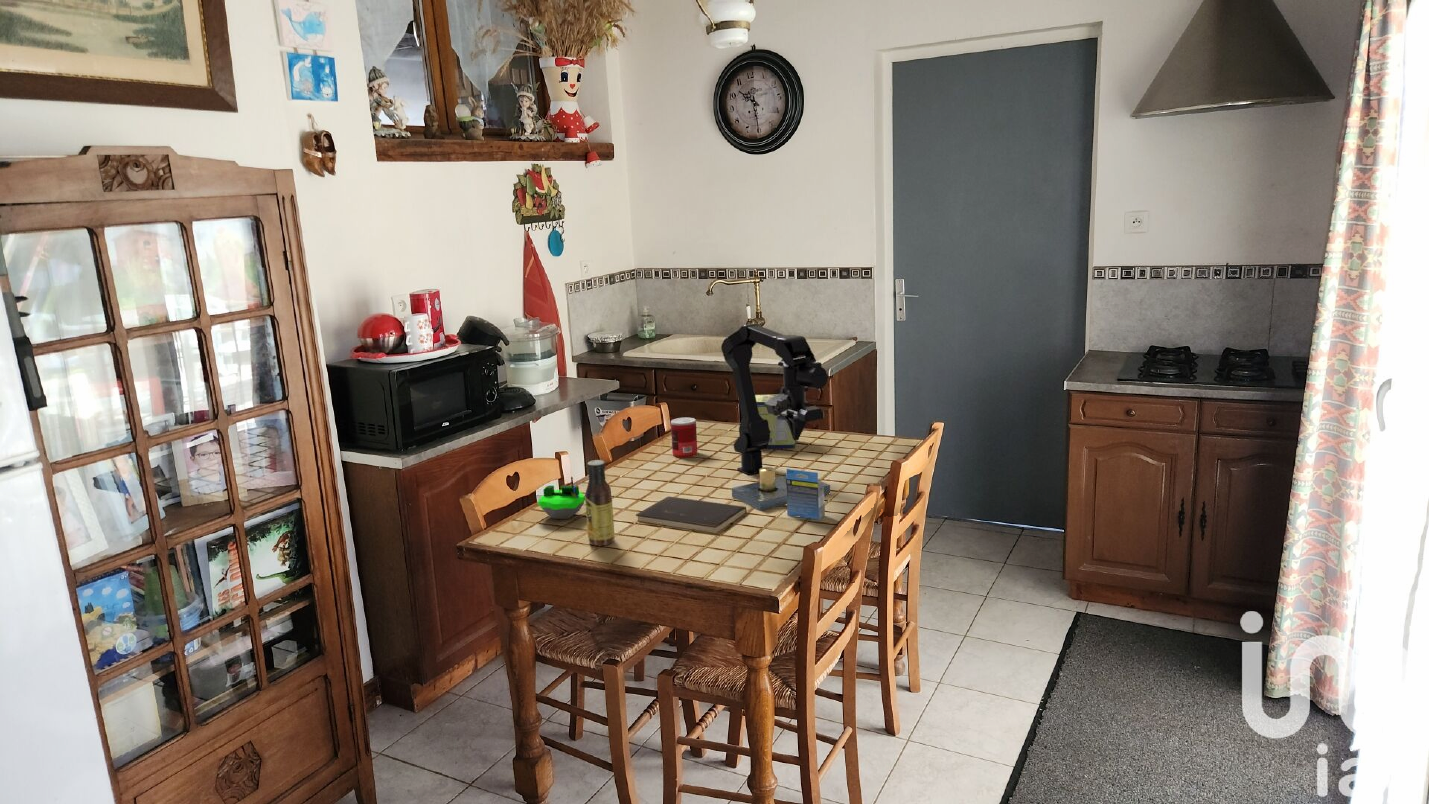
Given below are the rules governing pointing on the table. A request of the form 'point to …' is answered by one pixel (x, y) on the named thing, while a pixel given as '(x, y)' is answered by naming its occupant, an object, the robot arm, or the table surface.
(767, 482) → the cylinder
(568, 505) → the green floating island model
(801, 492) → the label tape box
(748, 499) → the jig
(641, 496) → the table surface
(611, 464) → the table surface
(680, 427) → the canned food
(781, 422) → the protein box
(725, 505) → the hardcover book
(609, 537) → the sauce bottle
